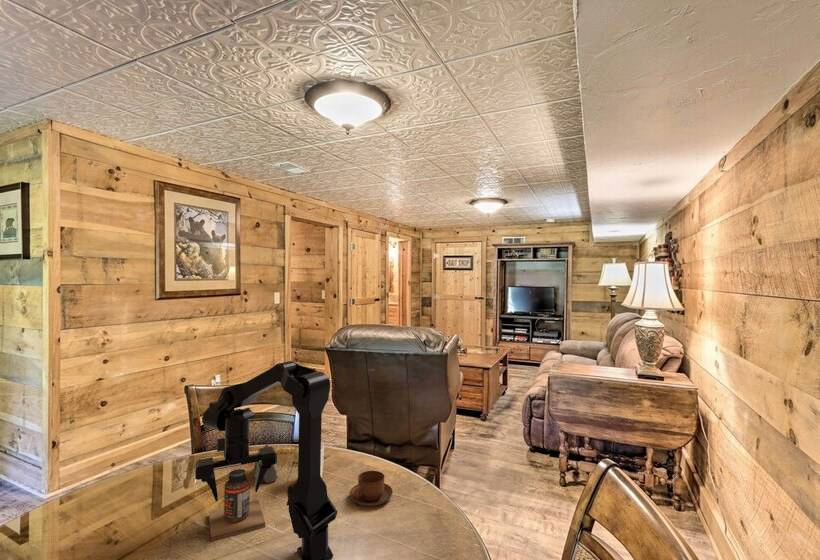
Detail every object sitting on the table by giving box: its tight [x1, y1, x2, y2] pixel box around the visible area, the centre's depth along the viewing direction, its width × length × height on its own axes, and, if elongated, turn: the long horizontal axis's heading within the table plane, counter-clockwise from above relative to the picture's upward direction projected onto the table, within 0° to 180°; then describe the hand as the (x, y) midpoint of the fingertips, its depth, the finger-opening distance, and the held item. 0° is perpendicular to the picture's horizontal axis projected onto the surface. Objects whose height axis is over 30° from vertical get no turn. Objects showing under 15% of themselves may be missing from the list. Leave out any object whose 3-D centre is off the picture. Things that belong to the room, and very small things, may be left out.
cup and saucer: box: [349, 470, 393, 507], centre depth 113 cm, size 12×12×6 cm
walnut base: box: [208, 499, 266, 542], centre depth 102 cm, size 12×12×1 cm
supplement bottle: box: [223, 468, 251, 523], centre depth 102 cm, size 6×6×11 cm
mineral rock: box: [252, 443, 279, 484], centre depth 128 cm, size 13×11×10 cm
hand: (236, 495), depth 102 cm, fingers open, 9 cm apart
